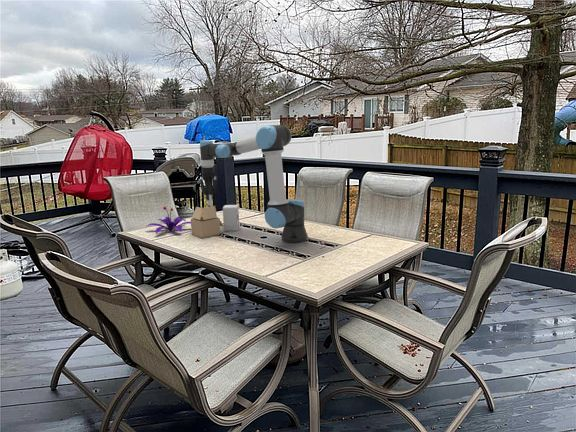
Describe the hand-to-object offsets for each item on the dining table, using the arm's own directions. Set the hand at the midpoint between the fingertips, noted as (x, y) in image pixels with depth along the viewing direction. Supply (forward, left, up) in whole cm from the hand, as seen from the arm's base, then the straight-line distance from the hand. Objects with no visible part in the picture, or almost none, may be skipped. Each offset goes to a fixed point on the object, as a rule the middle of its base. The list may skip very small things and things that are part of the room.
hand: (209, 205), depth 257 cm
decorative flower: (+22, +16, -17) cm, 32 cm away
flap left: (-2, +11, -7) cm, 13 cm away
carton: (0, +3, -17) cm, 17 cm away
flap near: (-8, +5, -7) cm, 12 cm away
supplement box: (-3, -13, -17) cm, 22 cm away
